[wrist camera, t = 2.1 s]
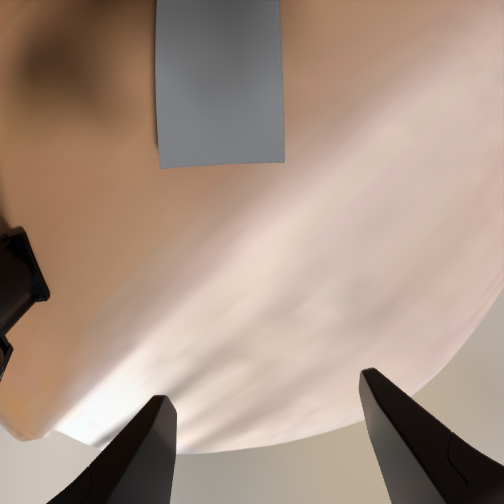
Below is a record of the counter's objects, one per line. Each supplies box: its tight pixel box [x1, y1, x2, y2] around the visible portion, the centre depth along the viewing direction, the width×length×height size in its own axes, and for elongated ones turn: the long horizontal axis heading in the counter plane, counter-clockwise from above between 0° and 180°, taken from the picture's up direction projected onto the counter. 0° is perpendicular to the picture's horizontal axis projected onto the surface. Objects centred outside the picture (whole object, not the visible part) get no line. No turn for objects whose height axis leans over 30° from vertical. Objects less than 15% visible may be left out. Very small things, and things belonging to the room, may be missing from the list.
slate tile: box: [155, 0, 285, 169], centre depth 14 cm, size 14×7×2 cm, turn 2°
